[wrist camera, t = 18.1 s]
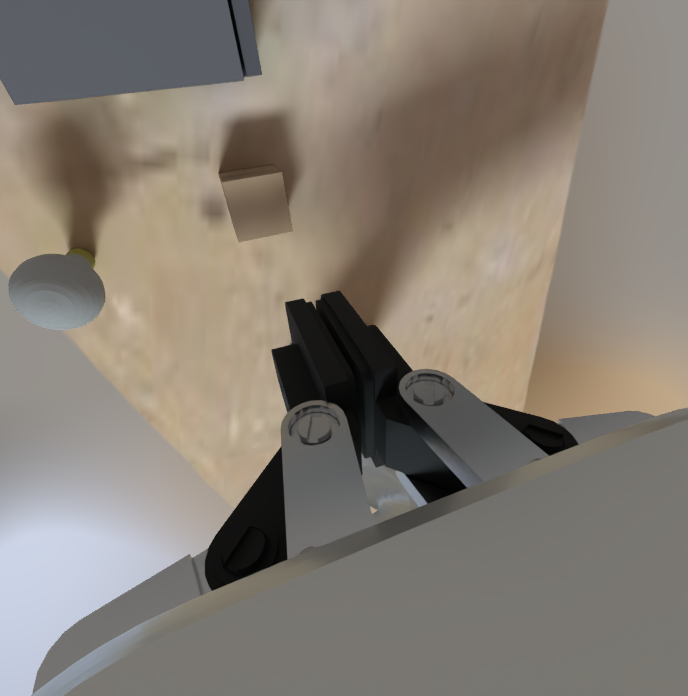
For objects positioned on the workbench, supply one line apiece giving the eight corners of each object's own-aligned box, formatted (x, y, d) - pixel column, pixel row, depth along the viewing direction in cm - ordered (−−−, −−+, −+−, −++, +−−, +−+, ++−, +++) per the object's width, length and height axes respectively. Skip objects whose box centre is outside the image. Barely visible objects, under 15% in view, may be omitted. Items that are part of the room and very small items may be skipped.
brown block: (283, 218, 35) (292, 231, 32) (234, 228, 34) (238, 242, 31) (273, 164, 32) (282, 172, 29) (218, 173, 31) (221, 182, 28)
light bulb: (97, 218, 30) (66, 263, 22) (130, 275, 33) (113, 330, 26) (27, 235, 29) (-30, 287, 21) (69, 291, 32) (33, 353, 25)
